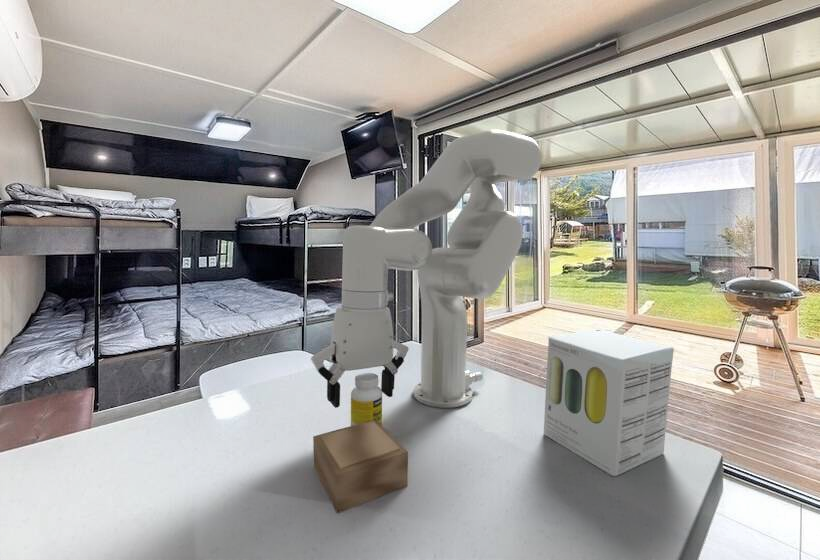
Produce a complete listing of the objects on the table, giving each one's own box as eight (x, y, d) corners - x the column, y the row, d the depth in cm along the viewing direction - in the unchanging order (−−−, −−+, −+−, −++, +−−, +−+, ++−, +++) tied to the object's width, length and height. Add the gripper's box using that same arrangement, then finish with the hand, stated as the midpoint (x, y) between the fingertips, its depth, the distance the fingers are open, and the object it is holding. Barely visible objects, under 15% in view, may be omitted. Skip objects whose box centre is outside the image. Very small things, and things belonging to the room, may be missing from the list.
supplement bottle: (377, 440, 61) (376, 384, 59) (346, 436, 62) (345, 381, 61) (385, 424, 66) (385, 372, 65) (357, 421, 67) (356, 369, 66)
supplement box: (540, 434, 63) (546, 335, 61) (590, 417, 69) (596, 327, 67) (614, 479, 51) (623, 359, 49) (665, 454, 58) (676, 346, 56)
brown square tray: (376, 449, 58) (376, 417, 58) (407, 485, 50) (407, 449, 49) (314, 468, 53) (313, 434, 52) (337, 513, 45) (336, 473, 44)
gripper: (398, 295, 68) (395, 383, 70) (306, 299, 60) (305, 399, 61) (419, 301, 62) (415, 398, 64) (320, 306, 53) (318, 418, 55)
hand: (361, 399), depth 62 cm, fingers open, 9 cm apart
